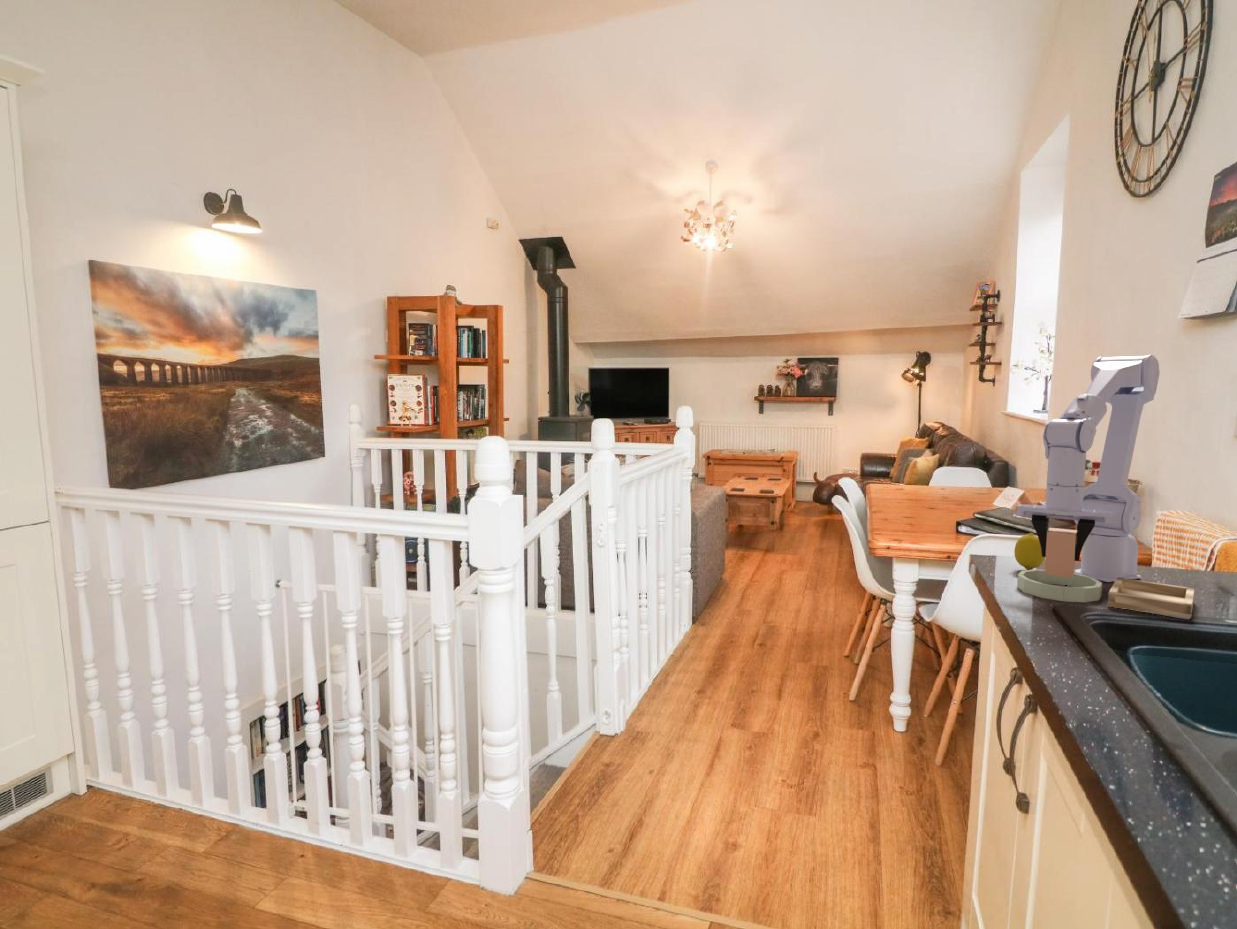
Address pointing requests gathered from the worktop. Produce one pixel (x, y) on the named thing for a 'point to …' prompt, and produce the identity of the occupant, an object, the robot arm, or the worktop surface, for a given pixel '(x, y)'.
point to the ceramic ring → (1079, 592)
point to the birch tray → (1151, 597)
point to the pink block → (1060, 552)
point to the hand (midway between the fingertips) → (1060, 557)
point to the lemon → (1029, 551)
